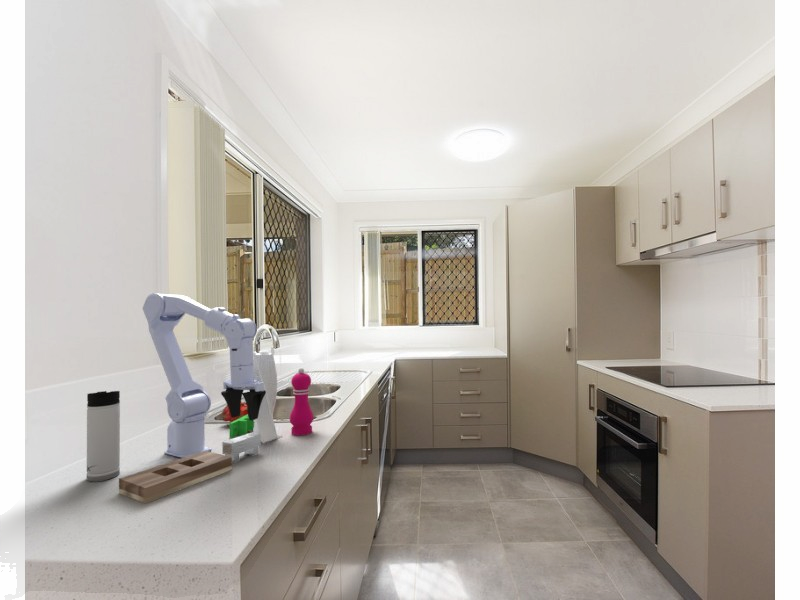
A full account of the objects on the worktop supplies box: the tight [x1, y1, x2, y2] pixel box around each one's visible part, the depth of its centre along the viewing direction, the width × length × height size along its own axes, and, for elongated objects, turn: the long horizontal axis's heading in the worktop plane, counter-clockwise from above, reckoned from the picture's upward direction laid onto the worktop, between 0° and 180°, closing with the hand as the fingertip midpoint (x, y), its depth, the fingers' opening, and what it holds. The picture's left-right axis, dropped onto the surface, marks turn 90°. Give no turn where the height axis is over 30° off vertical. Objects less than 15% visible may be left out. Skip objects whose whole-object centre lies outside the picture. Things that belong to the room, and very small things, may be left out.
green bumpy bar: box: [229, 414, 255, 439], centre depth 131 cm, size 11×4×5 cm, turn 173°
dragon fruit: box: [221, 401, 255, 423], centre depth 141 cm, size 8×8×12 cm
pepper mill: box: [289, 367, 314, 436], centre depth 130 cm, size 7×7×20 cm
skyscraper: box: [252, 345, 283, 444], centre depth 124 cm, size 8×8×28 cm
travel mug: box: [86, 390, 121, 483], centre depth 97 cm, size 6×7×20 cm
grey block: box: [221, 432, 261, 464], centre depth 108 cm, size 4×9×5 cm, turn 150°
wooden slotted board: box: [118, 451, 233, 504], centre depth 94 cm, size 10×20×3 cm, turn 150°
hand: (244, 418), depth 108 cm, fingers open, 7 cm apart
